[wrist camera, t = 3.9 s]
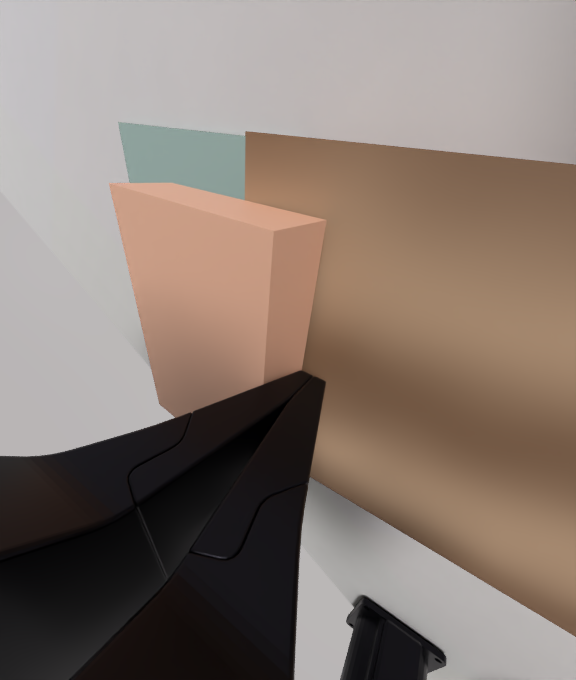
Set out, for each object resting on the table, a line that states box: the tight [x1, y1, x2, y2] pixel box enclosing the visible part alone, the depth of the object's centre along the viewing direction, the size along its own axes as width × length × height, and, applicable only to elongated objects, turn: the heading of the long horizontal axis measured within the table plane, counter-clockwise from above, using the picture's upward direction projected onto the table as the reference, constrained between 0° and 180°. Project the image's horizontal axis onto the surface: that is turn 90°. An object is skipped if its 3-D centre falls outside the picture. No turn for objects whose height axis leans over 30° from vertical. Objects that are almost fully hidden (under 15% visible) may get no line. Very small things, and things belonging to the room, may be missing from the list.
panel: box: [118, 122, 245, 200], centre depth 15 cm, size 12×10×1 cm
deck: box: [245, 131, 576, 637], centre depth 9 cm, size 12×14×4 cm
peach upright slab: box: [109, 183, 327, 418], centre depth 10 cm, size 9×6×2 cm, turn 173°
